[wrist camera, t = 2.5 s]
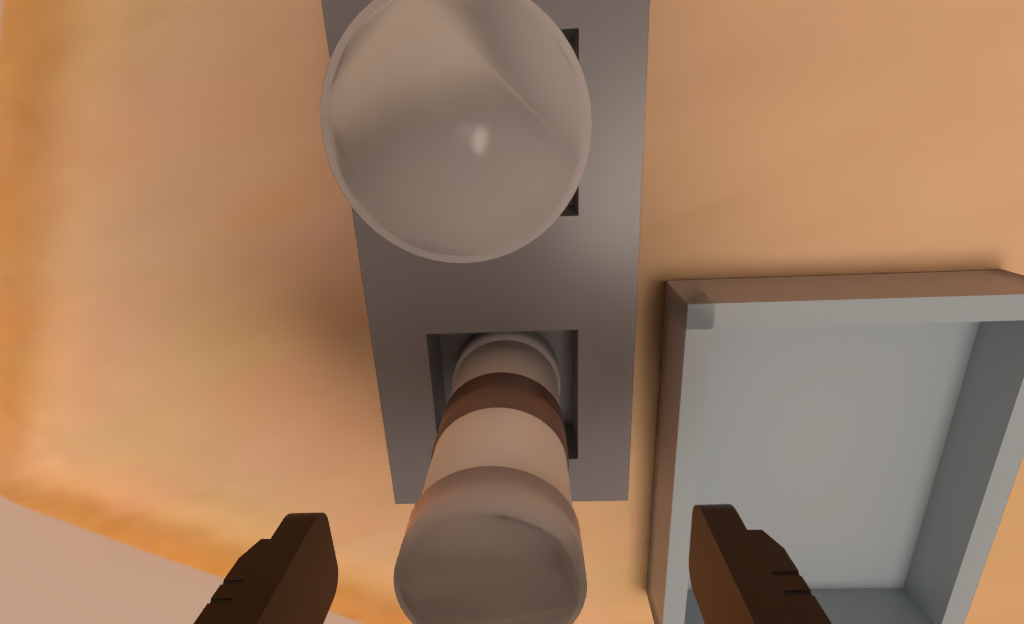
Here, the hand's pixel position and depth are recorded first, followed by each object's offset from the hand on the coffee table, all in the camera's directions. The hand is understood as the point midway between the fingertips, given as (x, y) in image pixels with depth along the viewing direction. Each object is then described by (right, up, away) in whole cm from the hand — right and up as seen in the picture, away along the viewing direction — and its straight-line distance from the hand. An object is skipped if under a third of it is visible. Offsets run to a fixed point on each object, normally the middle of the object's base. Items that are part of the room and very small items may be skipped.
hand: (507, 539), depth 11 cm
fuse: (0, +10, +4) cm, 11 cm away
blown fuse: (0, +3, +7) cm, 7 cm away
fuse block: (0, +7, +6) cm, 9 cm away
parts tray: (+11, 0, +8) cm, 14 cm away
